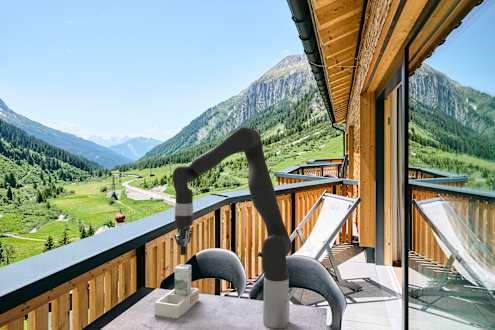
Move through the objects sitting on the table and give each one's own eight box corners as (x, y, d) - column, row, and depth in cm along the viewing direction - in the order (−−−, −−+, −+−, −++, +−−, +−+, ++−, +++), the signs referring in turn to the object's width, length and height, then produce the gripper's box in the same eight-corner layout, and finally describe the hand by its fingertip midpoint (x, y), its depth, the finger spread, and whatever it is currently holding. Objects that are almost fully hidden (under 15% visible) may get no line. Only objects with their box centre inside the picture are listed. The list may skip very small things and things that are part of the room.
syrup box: (191, 298, 154) (191, 264, 154) (187, 303, 149) (187, 268, 148) (178, 297, 155) (178, 263, 155) (173, 302, 149) (174, 267, 149)
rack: (199, 300, 155) (199, 288, 155) (178, 319, 137) (178, 306, 137) (177, 297, 158) (177, 285, 158) (154, 315, 140) (154, 302, 140)
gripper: (185, 216, 144) (184, 259, 144) (198, 211, 157) (198, 251, 157) (168, 215, 146) (167, 258, 146) (183, 210, 159) (182, 250, 159)
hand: (183, 254), depth 152 cm, fingers closed
